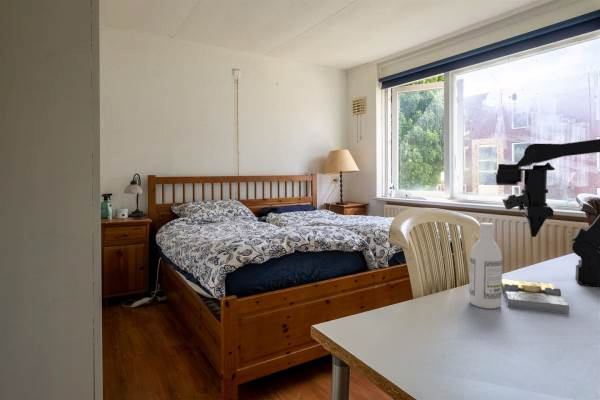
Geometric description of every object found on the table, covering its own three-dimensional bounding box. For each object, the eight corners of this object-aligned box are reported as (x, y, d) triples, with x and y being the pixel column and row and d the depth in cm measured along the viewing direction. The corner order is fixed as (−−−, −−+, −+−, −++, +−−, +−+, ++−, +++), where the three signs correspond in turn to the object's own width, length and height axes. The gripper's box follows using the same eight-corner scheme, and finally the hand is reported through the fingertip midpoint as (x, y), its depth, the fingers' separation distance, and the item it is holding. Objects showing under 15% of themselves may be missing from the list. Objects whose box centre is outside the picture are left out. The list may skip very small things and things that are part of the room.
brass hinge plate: (551, 291, 98) (551, 279, 98) (560, 302, 90) (560, 289, 89) (500, 286, 103) (501, 275, 103) (504, 296, 94) (505, 284, 94)
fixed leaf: (558, 300, 91) (558, 287, 91) (568, 313, 83) (569, 300, 82) (503, 294, 96) (504, 282, 96) (508, 306, 87) (508, 293, 87)
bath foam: (505, 304, 89) (508, 223, 87) (493, 312, 85) (495, 226, 83) (477, 297, 94) (478, 220, 93) (464, 303, 90) (465, 223, 88)
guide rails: (550, 286, 102) (550, 283, 102) (561, 299, 91) (561, 296, 91) (495, 280, 107) (495, 278, 107) (499, 293, 97) (500, 290, 97)
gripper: (501, 184, 122) (500, 230, 123) (508, 187, 105) (507, 240, 106) (540, 184, 118) (538, 232, 119) (555, 187, 101) (552, 243, 102)
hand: (533, 236), depth 112 cm, fingers closed
